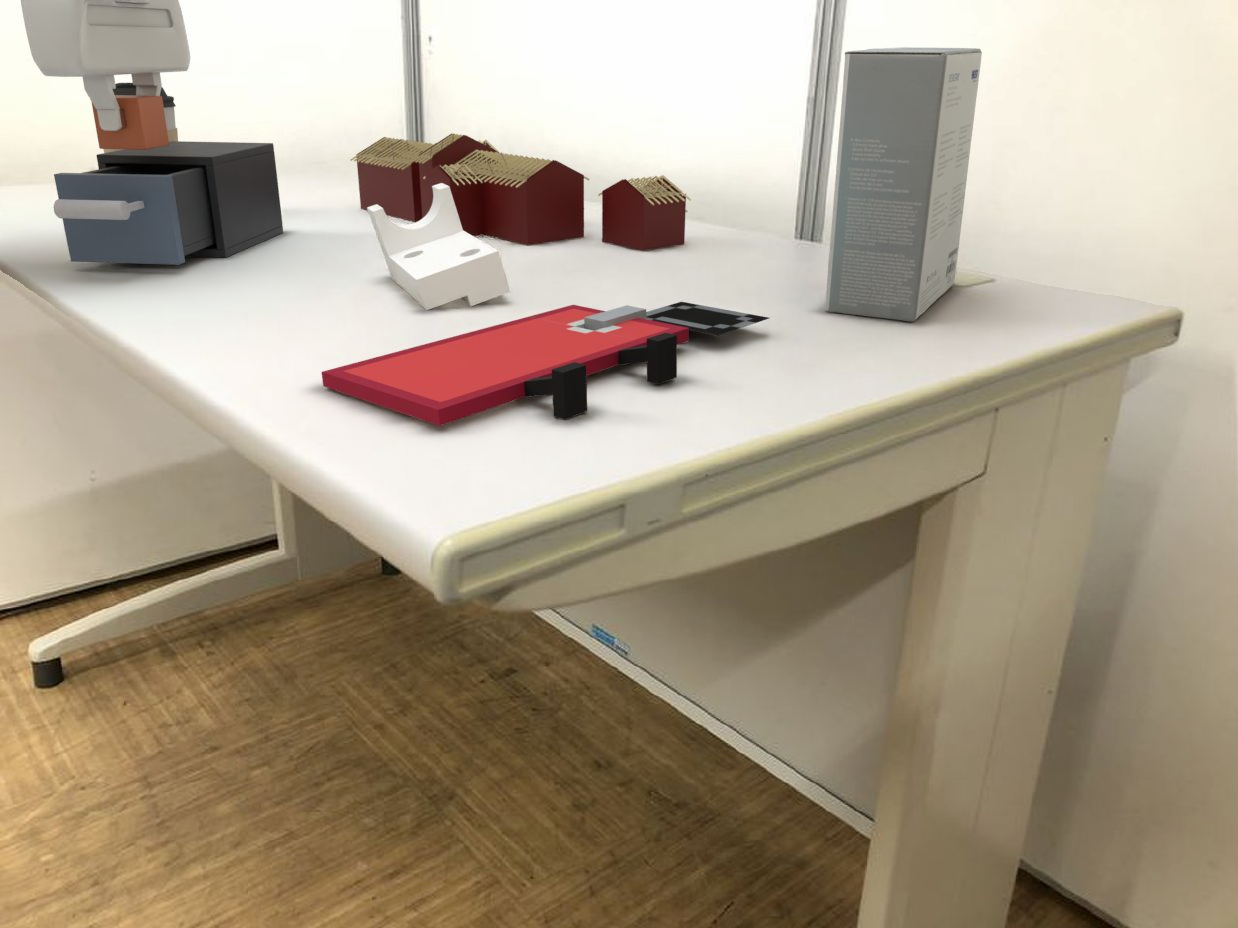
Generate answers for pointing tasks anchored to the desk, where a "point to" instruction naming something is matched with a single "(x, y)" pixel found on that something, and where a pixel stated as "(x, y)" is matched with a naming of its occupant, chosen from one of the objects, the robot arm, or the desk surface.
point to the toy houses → (515, 194)
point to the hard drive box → (900, 178)
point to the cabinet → (224, 188)
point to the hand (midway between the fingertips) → (131, 127)
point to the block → (136, 124)
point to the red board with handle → (530, 359)
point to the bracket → (439, 256)
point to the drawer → (136, 213)
